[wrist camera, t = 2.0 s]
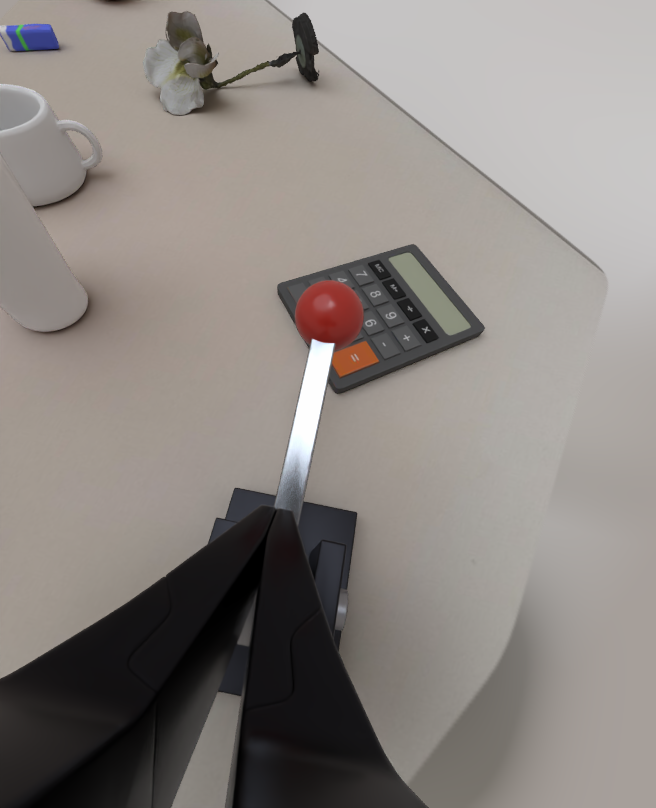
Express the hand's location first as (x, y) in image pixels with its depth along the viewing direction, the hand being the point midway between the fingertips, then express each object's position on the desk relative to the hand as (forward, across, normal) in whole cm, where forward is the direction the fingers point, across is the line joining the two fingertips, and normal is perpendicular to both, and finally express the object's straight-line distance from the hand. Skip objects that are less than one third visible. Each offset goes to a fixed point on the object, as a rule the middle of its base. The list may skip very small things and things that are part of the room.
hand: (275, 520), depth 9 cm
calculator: (+24, -4, -5) cm, 25 cm away
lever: (+7, 0, +1) cm, 7 cm away
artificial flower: (+48, +19, -28) cm, 59 cm away
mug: (+31, +32, -11) cm, 45 cm away
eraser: (+49, +48, -29) cm, 74 cm away
